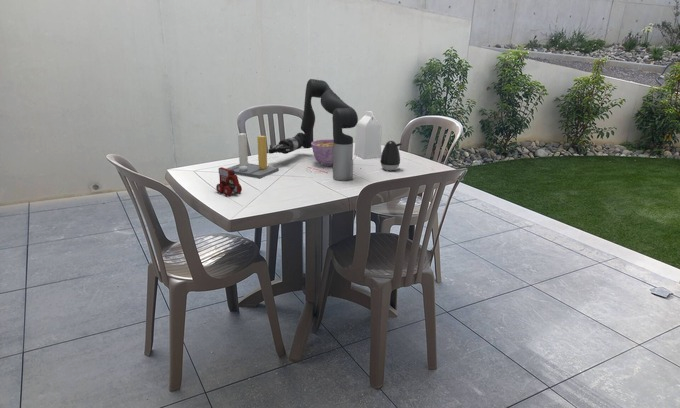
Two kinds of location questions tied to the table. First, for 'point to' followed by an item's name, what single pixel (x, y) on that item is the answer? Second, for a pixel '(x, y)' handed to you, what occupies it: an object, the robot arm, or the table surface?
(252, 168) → the panel
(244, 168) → the button grey
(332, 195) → the table surface
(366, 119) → the milk
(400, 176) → the table surface
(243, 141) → the lever ivory
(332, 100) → the robot arm
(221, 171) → the toy fire truck
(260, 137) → the lever amber
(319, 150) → the bowl of food
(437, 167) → the table surface
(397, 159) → the pump dispenser
